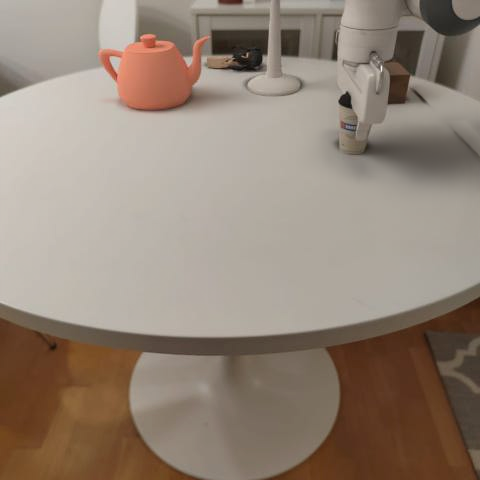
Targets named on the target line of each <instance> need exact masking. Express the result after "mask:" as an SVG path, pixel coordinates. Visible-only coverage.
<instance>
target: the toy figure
mask: <svg viewBox="0 0 480 480" xmlns="http://www.w3.org/2000/svg"><path fill="white" fill-rule="evenodd" d="M235 48H236V49H239V50H243V51H246V53H238V52H235V53H233V54H232V56H229V55H223V56H219V57H218V56H206V65H207V68H213V69H222V68H227V67H229V66H231V65H235V66H244V67H242V68H234V67H232V70H233V71H238V72H242V71H244V70H245V69H253V70H254V69H255V70H258V69H259V68H261V65H262V63H263V59H264V56H263V52H262V50H261V49H262V48H261V47H259V46H251V47H246V46H245V45H239V44H233V46H232V50H234V49H235Z"/></svg>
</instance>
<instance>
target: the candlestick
mask: <svg viewBox="0 0 480 480" xmlns="http://www.w3.org/2000/svg"><path fill="white" fill-rule="evenodd" d="M269 5H270V6H269V7H270V8H269V21H268V22H269V25H268V42H267V43H268V44H267V59H266V60H267V61H266V71H265V73H263V74H259V75H256V76H254V77H253V78H251V79H250V80H249V81H248V83H247V91H249V92H251V93H253V94H256V95H258V96H259V95H260V96H266V97H281V96H287V95H292V94H294V93H297V92H298V91H299V90H300V88H301V82H300V81H299V79H297V77H296V76H295V77H294V76H293V75H291V74H287V73H283V69H282V67H283V66H282V25H281V24H282V23H281V21H282V20H281V0H270V3H269Z"/></svg>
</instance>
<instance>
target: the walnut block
mask: <svg viewBox="0 0 480 480" xmlns="http://www.w3.org/2000/svg"><path fill="white" fill-rule="evenodd" d="M384 67H385V68H386V69H387V71H388V72H389V76H390V86H389V95H388V103H387V105H395V104H405V103H406V99H407V93H408V89H409V84H410V79H411V76H412V75H411V73H410V72H409V71H408V70H407V69H406V68H405V67H403V66H402V64H401V63H399V61H391V62H390V61H389V62H384Z"/></svg>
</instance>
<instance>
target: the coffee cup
mask: <svg viewBox="0 0 480 480" xmlns="http://www.w3.org/2000/svg"><path fill="white" fill-rule="evenodd" d="M337 102H338V120H339V121H338V123H339V124H338V126H339V127H338V134H339V135H338V136H339V137H338V140H339V142H338V144H339V145H338V146H339V147H338V148H339V151H340V152H341V153H343V154H346V155H360V154H363V153H364V152H365V150H366V146H367V144H368V139H369V137H370V133H371V129H372V126H373V124H371V125H370V127H369V129H368V132H367V138H366V139H365V140H360V141H358V140H356V138H355V136H354V134H355V127H357V124H358V117H357V115H356V113H355V112H354V110H353V108H352V104H351V96H350V94H349V93H348V91H346V93H345V94H343V93H342V95H340V97H339V98H338V101H337Z"/></svg>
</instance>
